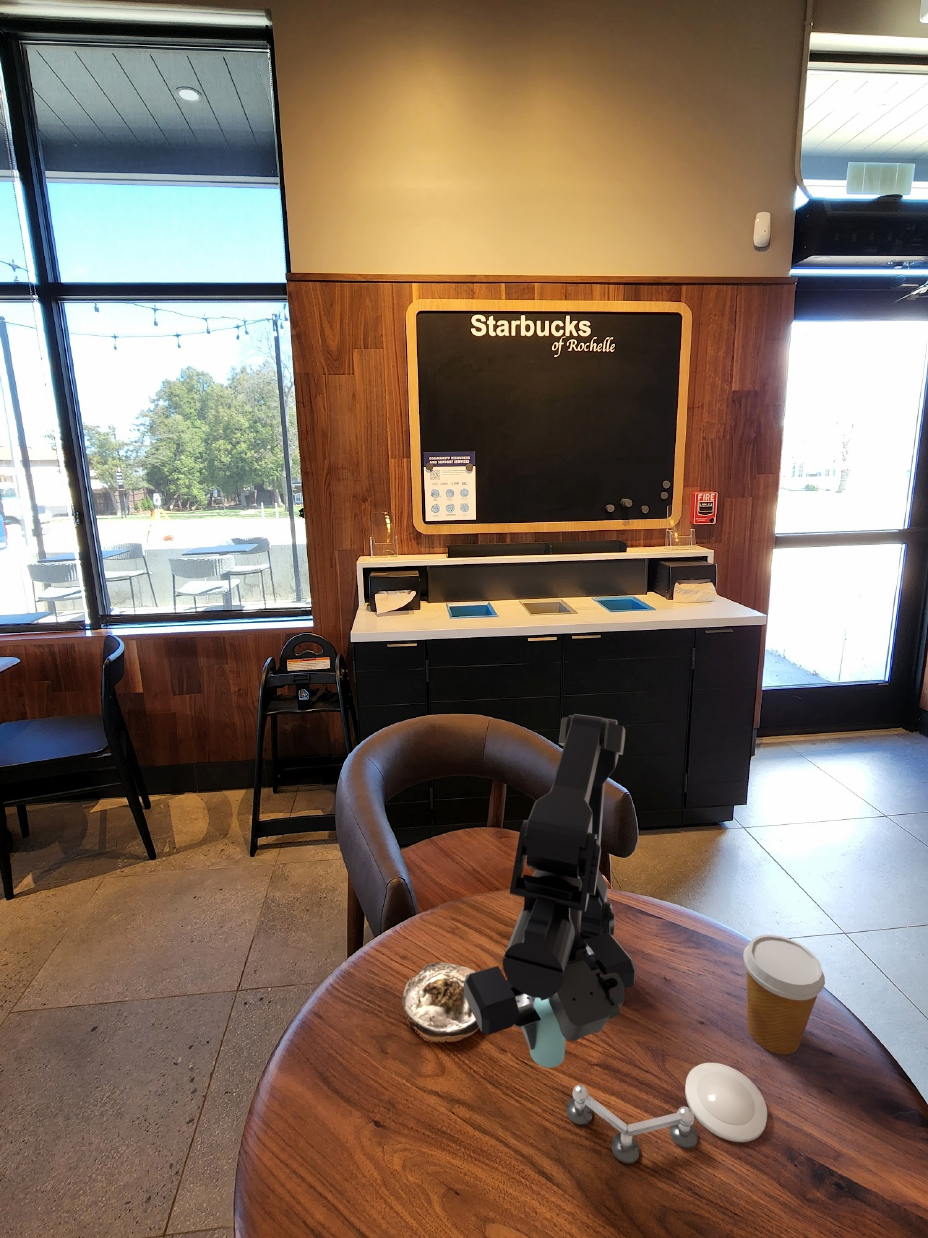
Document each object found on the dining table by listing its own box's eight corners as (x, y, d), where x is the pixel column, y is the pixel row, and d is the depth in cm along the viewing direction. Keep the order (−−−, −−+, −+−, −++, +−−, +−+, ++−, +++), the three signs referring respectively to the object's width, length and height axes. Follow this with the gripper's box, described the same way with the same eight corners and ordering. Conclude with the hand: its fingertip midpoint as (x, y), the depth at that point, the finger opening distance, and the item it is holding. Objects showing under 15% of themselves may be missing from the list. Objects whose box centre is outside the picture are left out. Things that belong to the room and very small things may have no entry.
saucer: (672, 1104, 75) (672, 1098, 74) (703, 1054, 81) (704, 1049, 81) (750, 1160, 69) (751, 1154, 68) (777, 1101, 75) (778, 1095, 75)
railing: (561, 1113, 74) (562, 1089, 73) (601, 1061, 80) (603, 1039, 79) (665, 1199, 65) (668, 1173, 64) (701, 1134, 71) (704, 1110, 70)
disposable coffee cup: (823, 1073, 79) (838, 994, 76) (742, 1059, 81) (754, 980, 78) (800, 1011, 88) (812, 938, 85) (728, 999, 90) (737, 927, 87)
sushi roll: (517, 993, 91) (518, 969, 90) (463, 1076, 78) (463, 1050, 77) (433, 952, 98) (433, 930, 97) (371, 1022, 86) (370, 997, 85)
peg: (523, 1042, 73) (525, 992, 71) (553, 1031, 74) (556, 982, 72) (539, 1073, 69) (542, 1021, 67) (571, 1060, 70) (574, 1009, 69)
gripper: (506, 1009, 57) (502, 1141, 61) (673, 953, 63) (660, 1076, 67) (462, 926, 67) (461, 1044, 71) (610, 886, 73) (602, 995, 77)
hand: (547, 1040), depth 71 cm, fingers closed on peg, 4 cm apart
